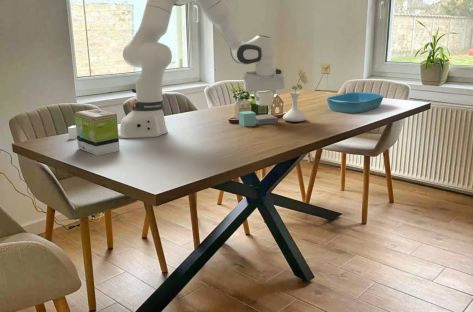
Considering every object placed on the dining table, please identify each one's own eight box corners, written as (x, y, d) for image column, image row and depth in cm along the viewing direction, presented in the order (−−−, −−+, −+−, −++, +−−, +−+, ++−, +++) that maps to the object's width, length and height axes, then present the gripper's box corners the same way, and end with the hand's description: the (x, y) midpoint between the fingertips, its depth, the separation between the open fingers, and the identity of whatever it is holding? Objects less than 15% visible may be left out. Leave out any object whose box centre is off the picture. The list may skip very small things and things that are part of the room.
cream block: (261, 105, 228) (261, 93, 227) (255, 103, 234) (255, 91, 232) (272, 104, 230) (272, 92, 229) (267, 103, 236) (267, 90, 234)
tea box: (77, 149, 187) (73, 111, 183) (100, 144, 194) (97, 108, 190) (96, 156, 177) (93, 116, 173) (120, 151, 184) (117, 112, 180)
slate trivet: (258, 124, 228) (258, 119, 227) (250, 120, 237) (250, 115, 236) (277, 122, 231) (278, 117, 231) (269, 119, 240) (269, 114, 240)
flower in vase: (294, 124, 228) (295, 70, 221) (277, 121, 236) (278, 69, 230) (313, 120, 236) (315, 68, 229) (296, 117, 244) (297, 67, 237)
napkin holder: (86, 132, 218) (85, 120, 217) (99, 136, 210) (98, 123, 209) (54, 138, 208) (53, 125, 206) (67, 142, 200) (65, 128, 199)
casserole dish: (355, 116, 247) (356, 102, 245) (318, 111, 262) (319, 98, 260) (389, 106, 273) (390, 94, 271) (354, 102, 288) (354, 90, 286)
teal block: (243, 126, 224) (243, 114, 223) (239, 124, 230) (238, 111, 228) (255, 125, 226) (255, 113, 225) (250, 123, 232) (250, 110, 230)
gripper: (246, 72, 221) (246, 102, 225) (286, 70, 229) (286, 99, 232) (241, 71, 227) (241, 100, 231) (280, 69, 234) (280, 97, 238)
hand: (264, 100), depth 232 cm, fingers closed on cream block, 6 cm apart
